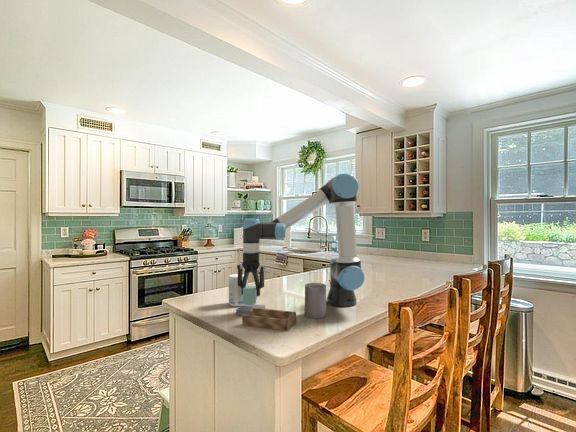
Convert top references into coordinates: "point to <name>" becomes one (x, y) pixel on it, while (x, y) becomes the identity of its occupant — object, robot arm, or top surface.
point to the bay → (270, 319)
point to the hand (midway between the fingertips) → (250, 302)
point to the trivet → (247, 309)
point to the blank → (249, 295)
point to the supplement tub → (235, 291)
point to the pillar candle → (315, 300)
